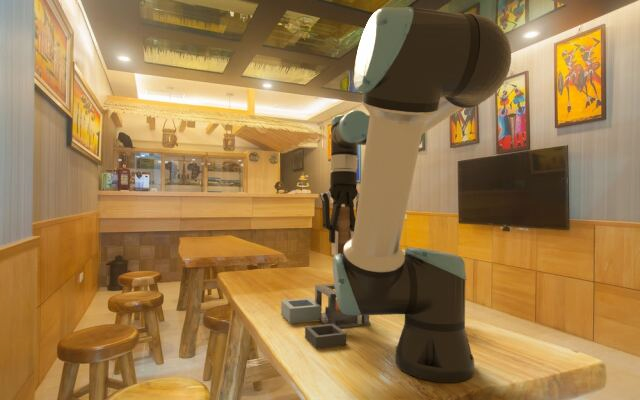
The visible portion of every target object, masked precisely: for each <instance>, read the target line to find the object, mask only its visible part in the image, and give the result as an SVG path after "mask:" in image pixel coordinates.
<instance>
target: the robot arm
mask: <svg viewBox="0 0 640 400" xmlns="http://www.w3.org/2000/svg"><path fill="white" fill-rule="evenodd" d="M509 41H510V40H509V38H508V37H507V34H506V32H504V30H503V28H502V27H501V26H499V25H498V24H497V22H495V21H493V20H492V19H490V18H489V17H486V16H483V15H481V14H476V13H460V12H453V11H443V10H435V9H434V10H433V9H426V8H419V7H418V8H417V7H410V6H405V7H404V6H403V7H401V6H400V7H399V6H393V7H392V6H387V7H385V6H384V7H381V8H379V9H377V10H376V11H375V12H374V13H373V14H372V15H371V16H370V18H369V19H368V21H367V23H366V26H365V28H364V29H363V33H362V34H361V38H360V41H359V44H358V48H357V53H356V57H355V61H354V62H355V63H354V68H353V71H354V72H353V73H354V75H353V86H354V89H355V90H356V92H359V93H360V94H362V98H361V99H362V100H361V104H362V105H363V107H365V109H366V111H367V112H368V113H369V114H367V113H365V112H364V111H362V110H358V109H356V110H350V111H349V112H347V113H346V114H340V115H337V116H334V117H333V118H332V119H331V126H330V153H331V154H330V171H331V172H330V173H329V174H330V177H329V178H330V179H329V182H330V183H329V185H330V187H329V189H328V191H326V192H324V193H320V194H319V198H320V200H321V204H322V205H321V206H322V208H321V210H322V211H321V212H322V228H323V229H326V230H327V231H328V242H329V244H330V243H331V255H333V258H332V272H333V273H332V274H333V284H334V285H335V289H334V291H335V293H336V299H337V303H338V307H339V309H340V311H341V312H342V313H344V314H346V315H359V316H361V317H362V315H369V316H381V315H382V316H383V315H384V316H387V315H390V316H391V315H404V322H403V323H404V324H403V328H402V331H401V333H400V337H399V339H398V343H397V345H396V347H395V353H394V354H395V356H394V359H395V364H396V365H397V367H398V368H399V369H400V370H402V371H403V372H405V373H406V374H408V375H411V376H413V377H415V378H418V379H422V380H426V381H430V382H437V383H460V382H463V381H467V380H470V379H471V378H472V377H473V376H474V374H475V358H474V355H473V354H472V351H471V347H470V343H469V342H470V341H469V340H468V336H467V333H466V324H465V323H466V281H467V273H466V264H465V260H464V259H463V258H462V257H461V256H460V255H458V254H453V253H450V252H446V251H440V250H433V249H427V248H421V247H412V246H411V247H409V246H408V247H406V248H405V251H403V249H402V248H401V247H400V243H401V238H402V233H403V229H404V223H405V219H406V214H407V210H408V204H409V199H410V196H411V195H410V194H411V190H412V184H413V181H414V180H413V179H414V174H415V170H416V164H417V160H418V155H419V151H420V146H421V145H422V143H423V141H424V138H425V134H426V133H427V132H428V131H429V130H431V129H432V128H434V127H435V126H437V125H439V124H440V123H442V122H444V121H445V120H446V119H448V118H449V117H451V116H452V115H454V114H456V113H457V112H458V111H460V110H462V109H472V108H474V107H477V106H479V105H481V104H482V103H484V102H486V100H488V99H489V98H491V97H492V96H493V95H495V93H497V92H498V90H500V88H501V87H502V85H503V84H504V82H505V81H506V79H507V78H508V74H509V72H510V68H511V64H512V49H511V45H510V42H509ZM360 145H362V146H365V149H364V157H363V163H362V164H363V165H362V171H361V179H360V185H359V191H358V189H357V185H358V184H357V183H358V173H357V172H356V171H357V170H358V146H360ZM330 199H332V200H333V202H332V209H331V207H330V206H331V205H330V204H331V203H330ZM354 200H356V202H355V204H356V205H355V206H354ZM342 205H344V207H350V240H349V241H347V242H346V244H345V245H344V249H343V255H342V254H338V232H337V231H336V226H337V221H338V216H339V212H340V208H341V207H342ZM354 207H355V209H354ZM330 209H331V210H330ZM330 213H331V214H330Z"/></svg>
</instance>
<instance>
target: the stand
mask: <svg viewBox="0 0 640 400" xmlns="http://www.w3.org/2000/svg"><path fill="white" fill-rule="evenodd" d="M304 329H305V331H304V338H305V339H306V340H307V341H308V342H309V343H310V344H311V346H313V347H314V349H325V348H334V347H341V346H346V345H347V334H348V333H346V332H345V331H343V330H342V328H338V327H337V326H336V325H335V324H326V325H324V324H317V325H310V326H309V325H308V326H305V327H304Z"/></svg>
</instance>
